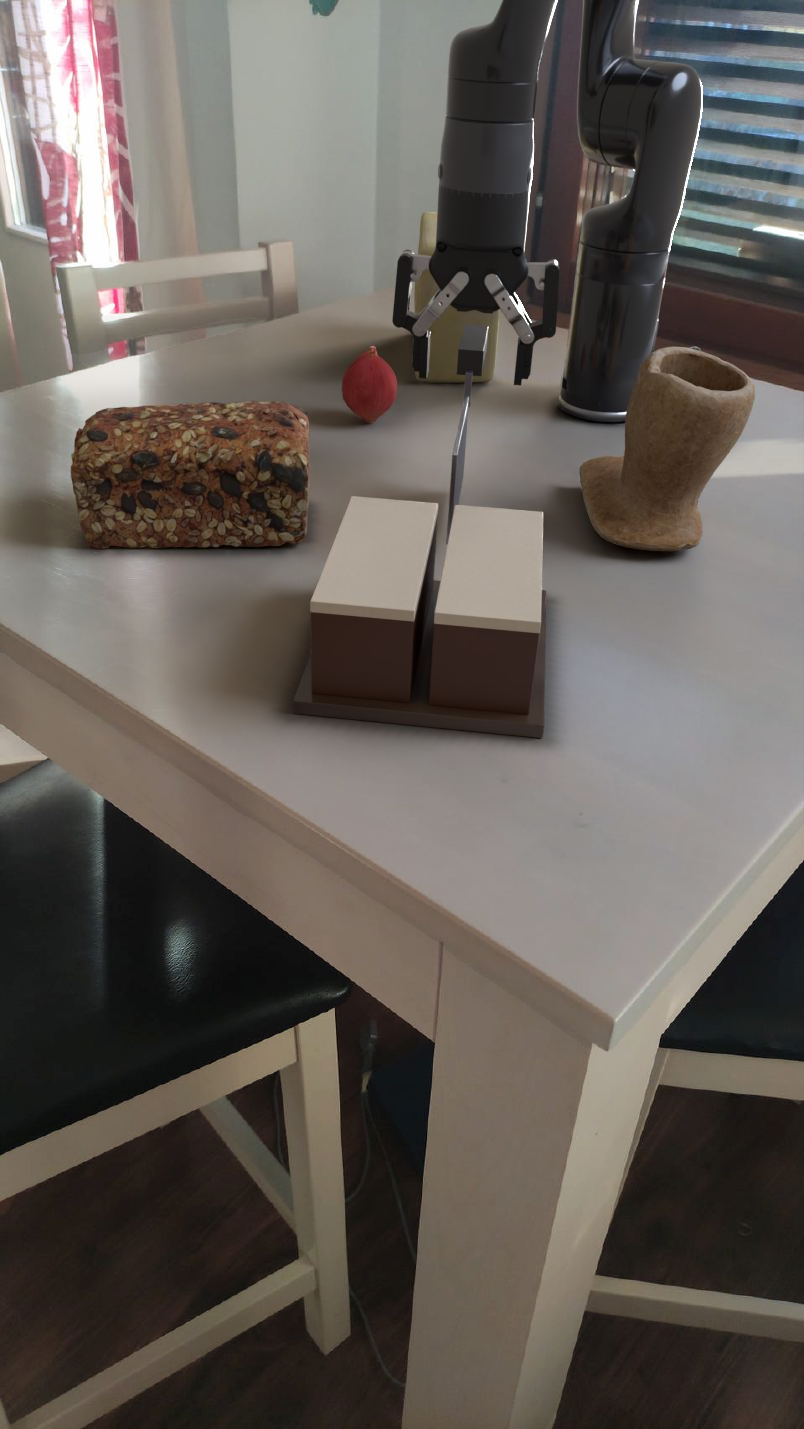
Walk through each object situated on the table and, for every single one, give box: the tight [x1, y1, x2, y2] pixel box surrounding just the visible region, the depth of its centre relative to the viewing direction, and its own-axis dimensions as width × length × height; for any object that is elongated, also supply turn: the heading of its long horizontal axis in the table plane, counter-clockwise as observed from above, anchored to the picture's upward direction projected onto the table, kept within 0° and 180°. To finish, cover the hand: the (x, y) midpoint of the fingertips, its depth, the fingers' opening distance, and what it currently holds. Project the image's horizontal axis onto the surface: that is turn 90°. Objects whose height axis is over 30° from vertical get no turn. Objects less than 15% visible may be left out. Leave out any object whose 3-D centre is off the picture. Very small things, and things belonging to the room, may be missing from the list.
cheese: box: [413, 211, 501, 383], centre depth 128 cm, size 22×10×15 cm, turn 8°
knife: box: [445, 325, 488, 545], centre depth 91 cm, size 23×2×11 cm, turn 173°
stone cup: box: [578, 346, 756, 552], centre depth 89 cm, size 15×12×15 cm
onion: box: [341, 345, 399, 424], centre depth 109 cm, size 6×6×8 cm
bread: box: [70, 400, 311, 550], centre depth 87 cm, size 19×11×10 cm, turn 94°
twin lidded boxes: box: [292, 495, 547, 739], centre depth 72 cm, size 18×16×8 cm
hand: (470, 379), depth 95 cm, fingers open, 8 cm apart
